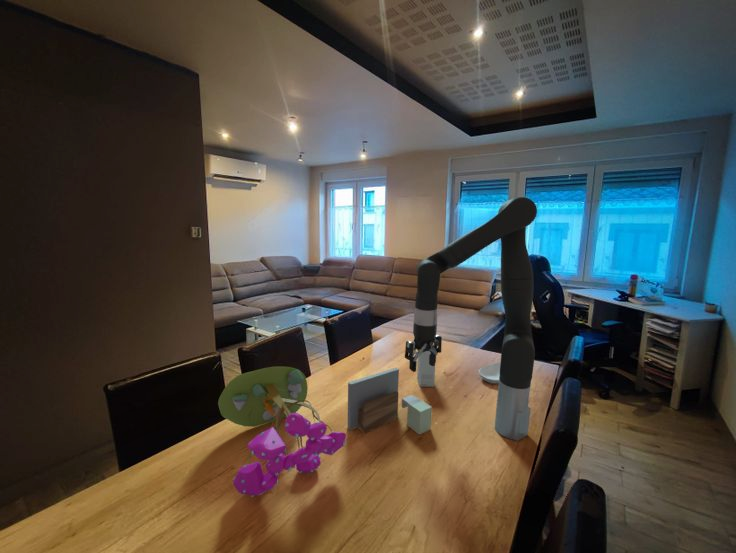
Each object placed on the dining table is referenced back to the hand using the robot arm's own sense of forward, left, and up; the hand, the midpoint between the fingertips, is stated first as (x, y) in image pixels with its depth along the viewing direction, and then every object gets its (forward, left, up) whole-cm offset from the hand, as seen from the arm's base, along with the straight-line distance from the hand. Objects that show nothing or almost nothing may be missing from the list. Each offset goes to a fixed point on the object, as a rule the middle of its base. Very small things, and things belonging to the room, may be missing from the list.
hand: (422, 368), depth 107 cm
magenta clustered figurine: (+9, +46, -20) cm, 51 cm away
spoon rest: (+4, -54, -20) cm, 57 cm away
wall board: (+9, +13, -19) cm, 25 cm away
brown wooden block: (+7, +13, -19) cm, 24 cm away
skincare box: (+19, -21, -20) cm, 34 cm away
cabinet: (-1, +3, -19) cm, 20 cm away
